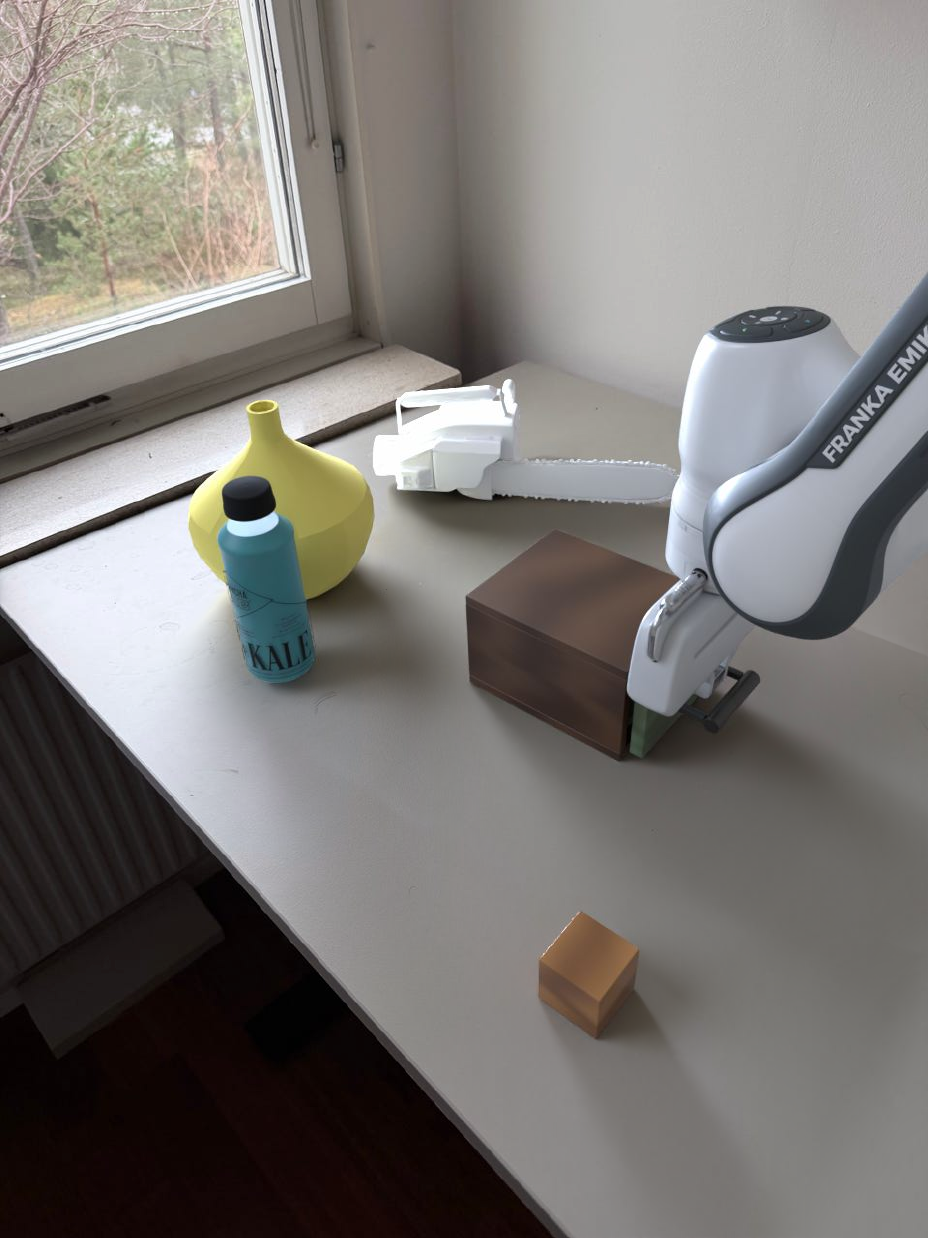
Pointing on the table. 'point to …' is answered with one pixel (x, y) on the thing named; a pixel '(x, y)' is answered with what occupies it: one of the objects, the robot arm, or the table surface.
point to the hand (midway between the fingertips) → (706, 685)
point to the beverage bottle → (265, 582)
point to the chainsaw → (500, 455)
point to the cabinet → (564, 635)
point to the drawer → (688, 713)
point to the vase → (292, 502)
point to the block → (587, 973)
